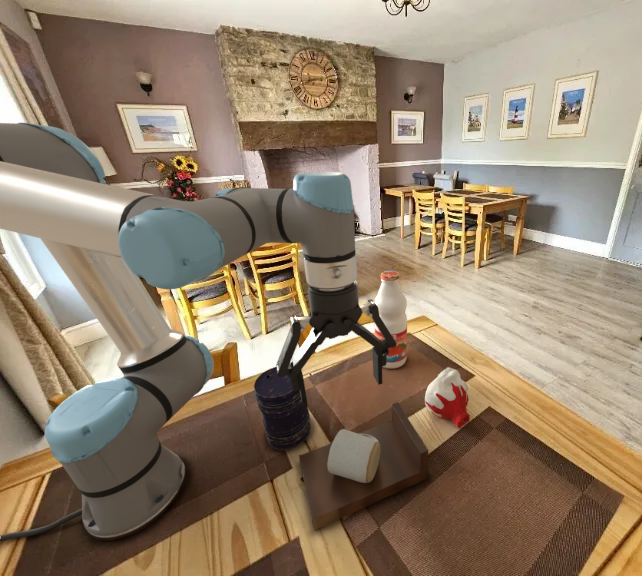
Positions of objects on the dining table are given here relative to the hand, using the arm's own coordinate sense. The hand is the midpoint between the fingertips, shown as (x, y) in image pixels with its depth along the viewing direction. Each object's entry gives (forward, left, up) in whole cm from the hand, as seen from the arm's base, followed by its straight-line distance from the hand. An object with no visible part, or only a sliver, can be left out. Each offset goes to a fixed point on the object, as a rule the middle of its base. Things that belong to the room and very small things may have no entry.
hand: (342, 390), depth 56 cm
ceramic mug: (+1, -3, -16) cm, 17 cm away
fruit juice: (+22, +27, -19) cm, 40 cm away
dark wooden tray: (+2, -3, -19) cm, 20 cm away
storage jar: (-10, +13, -19) cm, 26 cm away
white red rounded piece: (+26, +3, -19) cm, 32 cm away
